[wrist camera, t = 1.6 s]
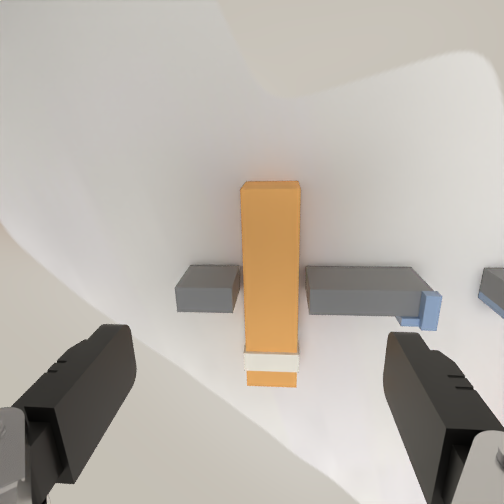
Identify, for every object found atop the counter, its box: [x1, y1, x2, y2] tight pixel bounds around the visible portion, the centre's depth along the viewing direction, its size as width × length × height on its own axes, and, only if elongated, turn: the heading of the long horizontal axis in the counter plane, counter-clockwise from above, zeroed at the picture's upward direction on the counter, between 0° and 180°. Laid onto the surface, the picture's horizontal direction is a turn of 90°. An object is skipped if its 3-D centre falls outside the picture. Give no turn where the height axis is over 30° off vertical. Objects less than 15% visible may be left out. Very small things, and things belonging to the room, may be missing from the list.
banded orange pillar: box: [240, 181, 301, 387], centre depth 27 cm, size 4×16×4 cm, turn 1°
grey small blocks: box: [175, 265, 504, 331], centre depth 26 cm, size 28×3×5 cm, turn 91°
